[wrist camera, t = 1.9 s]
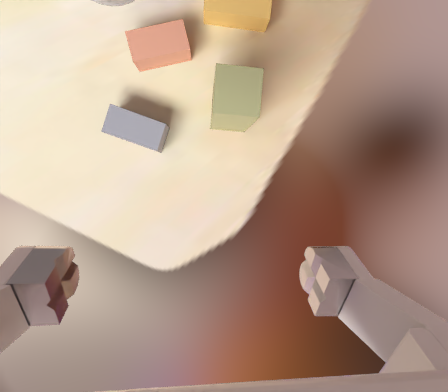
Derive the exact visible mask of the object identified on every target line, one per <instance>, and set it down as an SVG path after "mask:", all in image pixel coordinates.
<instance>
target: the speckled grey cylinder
mask: <svg viewBox="0 0 448 392" xmlns="http://www.w3.org/2000/svg"><path fill="white" fill-rule="evenodd" d="M92 1H95V2H97V3H99V4H103V5H108V6H122V5H125V4H128V3H131V2H133V1H134V0H92Z"/></svg>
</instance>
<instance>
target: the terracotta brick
mask: <svg viewBox="0 0 448 392" xmlns="http://www.w3.org/2000/svg"><path fill="white" fill-rule="evenodd" d="M125 33H126V37H127V41H128V44H129V48H130V52H131V56H132V59H133V62H134V64H135V65H136V67H137V68H138V70H139V71H140V72H141V71H146V70H150V69H154V68H159V67H163V66H168V65H172V64H177V63H181V62H185V61H190V60H191V52H190V46H189V42H188V38H187V34H186V30H185V26H184V22H183V19H180V20H175V21H171V22H166V23H162V24H157V25H153V26H148V27H143V28H139V29H134V30H130V31H125Z"/></svg>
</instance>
